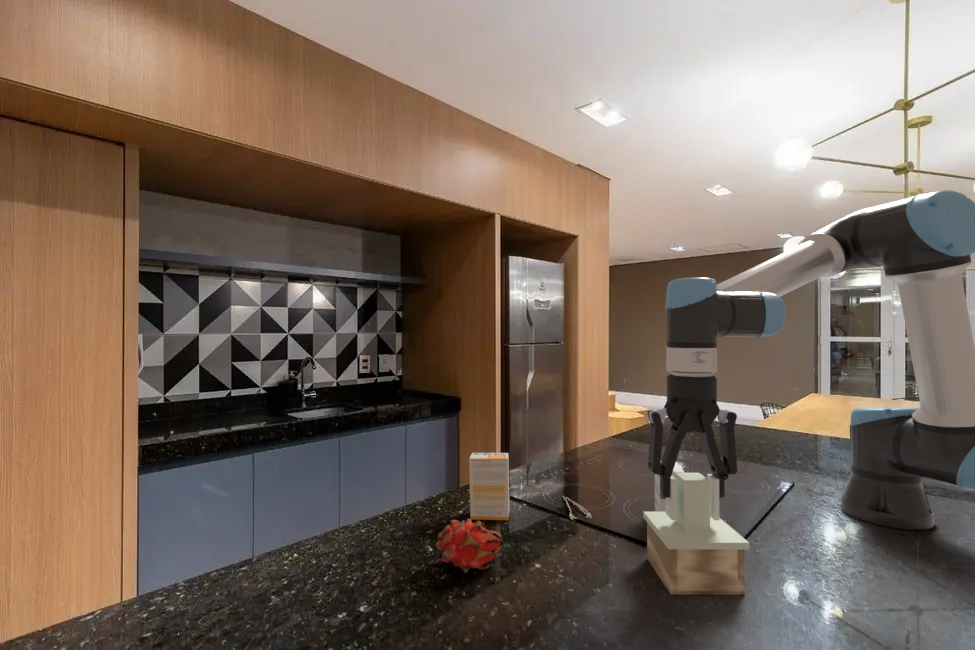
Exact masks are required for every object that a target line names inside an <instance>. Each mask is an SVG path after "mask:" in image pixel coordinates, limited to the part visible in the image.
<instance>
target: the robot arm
mask: <svg viewBox="0 0 975 650" xmlns="http://www.w3.org/2000/svg"><path fill="white" fill-rule="evenodd" d="M973 253H975V202H974V201H973V200H972V199H971V198H969V197H967V196H966V195H965V194H964V193H961V192H958V191H955V190H938V191H933V192H927V193H926V192H925V193H919V194H917V195H914V196H910V197H906V198H902V199H899V200H895V201H891V202H886V203H884V204H879V205H876V206H871V207H866V208H863V209H860V210H857V211H854V212H852V213H850V214H848V215H845V216H844V217H842V218H840V219H838V220H836V221H834V222H832V223H830V224H829V225H826V226H825V227H823V228H821V229H818V230H817V231H815V232H812V233H810V234H808V235H807V236H805V238H803V239H802V241H801V243H800V244H799V245H797V246H795V247H792V248H791V249H789V250H786V251H785V252H782V253H780V254H779V255H776V256H774V257H772V258H769V259H768V260H765V261H763V262H761V263H760V264H756V265H755V266H754V267H751V268H749V269H747V270H745V271H742V272H740V273H738V274H736V275H734V276H732V277H730V278H728V279H726V280H724V281H721V282H720V283H717V282H716V280H715V279H714V278H712V277H703V276H702V277H700V276H699V277H683V278H682V277H681V278H675V279H672V280H671V281H669V282H668V284H667V287H666V294H665V296H666V297H665V306H664V308H665V323H666V324H665V325H666V326H665V327H666V331H665V333H666V334H665V336H666V358H665V359H666V365H665V366H666V367H665V368H666V370H667V371H668V372H670V373H669V374H668V375H667V376H666V402H665V405H664V406H663V408H661V409H660V408H659V409H657V410H653V409H650V410H649V409H648V411H647V417H648V420H649V424H650V426H649V427H650V428H649V442H648V456H647V457H648V459H647V460H648V461H647V468H648V469H649V471H651V472H652V473H653V474H654V475H655V474H658V475H660V493H661V495H662V496H663V497H666V514H667V515H668V517H669V518H670V519H671V520H677V508H676V479H675V478H674V477H673V476H672V472H673V469H674V466H675V463H676V462H677V459H678V457H679V456H678V455H679V454H680V453H679V452H680V450H681V447H682V444H683V440H684V439H685V438H686V435H687V433H689V434H690V433H693V432H695V433H698V435H699V437H700V439H701V442H702V447H703V449H704V452H705V455H706V458H707V462H708V464H709V467H710V470H711V473H707V474H706V478H707V479H709V480H710V517H711V518H713V519H714V520H719V518H720V499H721V498H722V499H723V498H724V497H725V495H726V493H725V492H726V491H725V485H726V484H725V481H726V480H728V478H729V476H730V475H736V474H737V473H738V462H737V461H738V460H737V450H736V449H737V448H736V447H737V446H736V434H735V425H736V421H737V418H738V414H737V413H736V412H734V411H731V410H728V409H721V408H720V407H719V405H718V403H717V398H718V378H717V377H716V376H715V375H714V373H716V372H717V370H718V360H717V359H718V358H717V357H718V353H717V352H718V350H717V349H718V348H717V347H718V344H717V343H718V338H721V337H722V338H723V337H724V338H726V337H727V338H728V337H730V338H732V337H734V338H738V337H739V338H745V337H747V338H762V337H771V336H775V335H776V334H778V333H780V332H781V330H782V329H783V328H784V326H785V323H786V322H787V321H786V320H787V308H786V307H787V306H786V304H785V302H784V301H783V299H782V298H781V297H782V296H785V295H786V294H788V293H790V292H792V291H795V290H797V289H799V288H801V287H803V286H805V285H806V284H809V283H811V282H813V281H815V280H817V279H820V278H831V277H834V276H836V275H839V274H840V273H843V272H847V271H850V270H856V269H862V268H870V267H883V271H884V276H885V277H886V278H888V279H889V280H890V281H892V282H894V283H896V284H897V289H898V293H899V299H900V303H901V311H902V314H903V319H904V325H905V329H906V335H907V340H908V341H907V342H908V345H909V346H908V347H909V351H910V352H909V353H910V355H911V361H912V368H913V372H914V378H915V383H916V388H917V395H918V398H919V399H918V400H919V403H920V404H919V405H920V406H919V407H914V406H913V407H911V406H866V407H865V406H862V407H857V408H854V409H853V410H852V411H851V412H850V423H849V445H850V447H849V448H850V451H849V452H850V475H849V477H848V481H847V483H846V486H845V488H844V491H843V493H842V495H841V497H840V502H841V504H840V508H841V509H842V511H843V512H844V513H845V514H848V515H849V516H851V517H853V518H855V519H858V520H861V521H863V522H867V523H870V524H874V525H878V526H883V527H886V528H887V527H888V528H894V529H901V530H911V531H912V530H913V531H921V530H923V531H924V530H930V529H932V528H934V526H935V513H934V511H933V509H932V508H931V507H932V506H931V505H930V500H929V498H928V495H927V494H926V491H925V488H924V487H923V479H926V480H927V479H928V480H931V481H934V482H937V483H938V482H939V483H942V484H944V485H949V486H951V487H955V488H959V489H960V490H963V491H968V492H969V491H972V492H975V342H974V336H973V331H972V325H971V320H970V315H969V314H970V313H969V309H968V304H967V298H966V292H965V287H964V286H965V285H964V281H963V278H962V275H963V273H964V271H966V270H967V268H968V267H969V266H971V265H972V257H971V255H972V254H973ZM666 417H667V418H668V419H669V420H670V422H671V425H670V429H669V437H668V439H667V442H666V446H665V449H664V452H663V455H662V450H663V449H662V447H663V435H664V434H663V432H664V427H663V426H664V425H663V424H664V423H665V420H666ZM716 419H717V420H718V422H719V437H720V448H721V449H720V451H721V455H720V451H719V449H718V445H717V443H716V440H715V432H714V429H713V426H712V424H713V422H714V421H715V420H716ZM661 460H662V461H661Z"/></svg>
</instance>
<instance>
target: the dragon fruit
mask: <svg viewBox="0 0 975 650" xmlns="http://www.w3.org/2000/svg"><path fill="white" fill-rule="evenodd" d="M472 521H473V520H471V518H467V519H465V520H464V519H463V520H462V521H460V520H457V519H452V520H450V523H449V524H448V525H445V526H444V527H443V528H444V529H442V530H441V531H440V532H438V534H437V541H435V542H434V544H435V546H436V548H437V549H438V550H439V551H443V554H442V553H441V552H440V553H439V555H438V560H440V561H441V562H445V563H448V562H450V561H451V562H452V565H453V567H454V566H455V567H456V568H458V567H459V568H460V570H462V571H463V573H464V574H466V573H468V572H469V570H470V568H471V569H479V570H481V571H484V570H486V569H488V568H490V567H492V566H493V563H491V562H490V561H492V560H494V559H495V557H496V556H497V555H499V552H500V551H501V550H502V549H503V547H504V545H505V544H506V540H505V539H504V537H503V535H502V534H501V533H500V532H499V531H495V530H491V529H487V528H486V526H485V523H484V522H481V520H476V522H472ZM502 540H503V541H502ZM488 562H490V563H488ZM455 567H454V568H455ZM456 568H455V569H456Z"/></svg>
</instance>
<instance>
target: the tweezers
mask: <svg viewBox="0 0 975 650" xmlns="http://www.w3.org/2000/svg"><path fill="white" fill-rule="evenodd" d="M562 498H563V500H564V501H566V502H565V504H566V506H567V509H568V508H569V509H568V510H569V511H570V512H569V515H568V516H569V518H570V520H571V521H575V520H574V519H578V517H576V516H575V515H573V514H572V510H571V509H572V508H571V507H570V505H569V504H570V503H571V502H572V503H573V504H572V503H571V504H572V505H573V506H575V505H576V506H577V507H578V508H579V509H580V510H581V511H582V512H583V513H584V514H586V515H587V516H585V518H588V517H590V518H591V519H592V514H591V513H590V512H588V510H587V509H586V508H584V507H583V506H582V505H580V504H579V503H577V502H576V501H573V500H572V499H571V498H569V497H567V496H566V497H565V496H562ZM567 499H568V500H567ZM568 501H569V502H570V501H571V502H570V503H568ZM576 506H575V507H576ZM577 507H576V508H577ZM579 509H578V510H579ZM580 510H579V511H580ZM581 511H580V512H581ZM582 512H581V513H582ZM583 513H582V514H583ZM584 514H583V515H584ZM573 518H574V519H573Z"/></svg>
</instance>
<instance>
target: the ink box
mask: <svg viewBox="0 0 975 650" xmlns="http://www.w3.org/2000/svg"><path fill="white" fill-rule="evenodd" d="M661 461H662V459H661ZM675 473H686V472H685V471H684V469H683V468H682V467H681V465H680V463H679V462H678V461H676V463H675V466H674V469H673V472H672V476H673V477H674V478H675ZM654 512H666V497H663V496H662V495H661V493H660V475H658V474H654Z"/></svg>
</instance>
